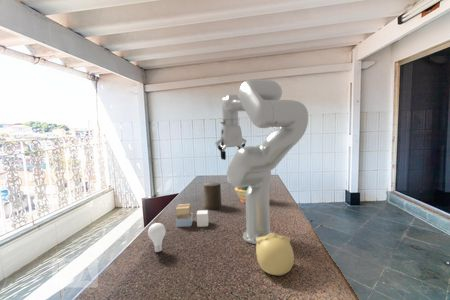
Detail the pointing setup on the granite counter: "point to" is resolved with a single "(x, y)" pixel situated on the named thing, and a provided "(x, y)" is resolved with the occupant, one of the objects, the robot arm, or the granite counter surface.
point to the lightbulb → (157, 235)
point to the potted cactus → (241, 192)
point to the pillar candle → (212, 195)
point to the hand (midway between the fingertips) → (232, 158)
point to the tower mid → (183, 211)
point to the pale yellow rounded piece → (275, 254)
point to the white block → (202, 218)
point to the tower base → (184, 221)
